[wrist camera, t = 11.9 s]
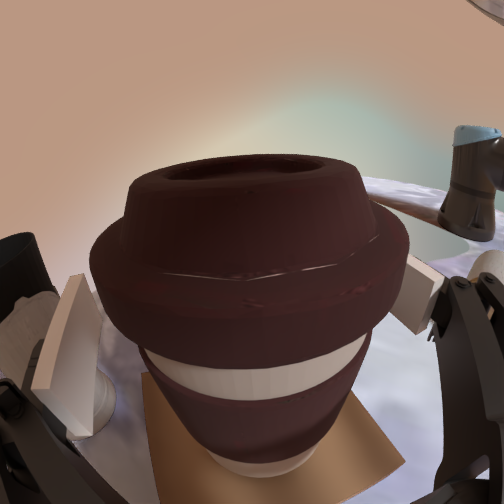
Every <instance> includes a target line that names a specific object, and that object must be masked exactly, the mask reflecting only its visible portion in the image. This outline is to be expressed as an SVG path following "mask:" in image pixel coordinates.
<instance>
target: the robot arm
mask: <svg viewBox="0 0 504 504" xmlns="http://www.w3.org/2000/svg"><path fill="white" fill-rule="evenodd" d="M467 1H468V2H469V3H470V4H471V5H473V6H474V7H475V8H476V9H478V10H479V11H481V12H482V13H483V14H485V15H486V16H488V17H489V18H491V19H493V20H494V21H496V22H498V23H500V24H501V25H503V26H504V0H467ZM501 136H502V134H501V131H500V130H499V129H494V128H488V127H481V126H469V125H461V126H458V127H456V129H455V131H454V143H453V146H454V148H453V161H452V171H451V180H450V188H449V191H448V193H447V195H446V197H445V199H444V201H443V204H442V206H441V208H440V210H439V215H438V222H439V223H440V224H441V225H442V226H443V227H444V228H446V229H447V230H449V231H451V232H453V233H455V234H457V235H460V236H462V237H465V238H468V239H472V240H477V241H490V240H492V239H493V237H494V233H495V209H494V199H495V193H496V190H500V191H503V192H504V138H503V137H501ZM491 307H492V308H493V309H494V312H493V314H492V317H491V319H490V320H489V318H488V313H489V311H490V308H491ZM389 312H390V313H392V314H393V315H394V316H395V317H396V318H397V319H398V320H399V321H401V322H402V323H403V324H404V325H405V326H406V327H407V328H408V329H410V330H411V331H412V332H413V333H414V334H415V335H417V334H419V333H420V332H422V331H423V330H425V329H426V328H427V325H428V323H429V320H430V318H431V319H433V320H434V321H435V322H434V324H433V327H432V329H431V331H430V334H429V336H428V339H427V341H430V339H431V337H432V336H433V335H434V338H433V341H432V342H435V344H436V351H437V357H438V364H439V372H440V381H441V391H442V404H443V428H444V447H443V459H442V462H441V464H440V466H439V468H438V470H437V472H436V475H435V480H434V489H433V492H432V493H430V494H428V495H426V496H424V497H422V498H420V499H418V500H416V501H414V502H412V503H410V504H504V285H503V284H502V282H501V281H500V280H499V279H498V278H497V277H496V276H494V275H493V274H492V273H489V272H481V273H480V274H479V276H478V279H477V282H475V283H472V282H471V281H469V280H468V279H466V278H464V277H460V276H454V277H451V278H450V279H448V278H447V277H445V276H444V275H442V274H441V273H439V272H438V271H436V270H435V269H433V268H432V267H430V266H428V265H427V264H426V263H424V262H422V261H421V260H419V259H418V258H416V257H414V256H412V255H410V254H409V253H408V258H407V263H406V268H405V273H404V277H403V282H402V286H401V290H400V292H399V295H398V297H397V299H396V301H395V303H394V305H393V307H392V308H391V310H390V311H389ZM102 322H103V320H102V317H101V315H100V313H99V311H98V308H97V306H96V303H95V301H94V299H93V296H92V294H91V291H90V289H89V286H88V284H87V281H86V278H85V275H84V273H83V274H78V275H74V276H70V278H69V280H68V282H67V284H66V287H65V289H64V291H63V294H62V296H61V298H60V301H59V303H58V306H57V308H56V311H55V313H54V316H53V318H52V321H51V324H50V326H49V329H48V332H47V335H46V338H44V339H40V340H39V341H38V342H37V344H36V345H35V346H34V348H33V350H32V353H31V356H30V360H29V362H28V368H27V369H26V372H25V376H24V379H23V383H22V387H21V390H20V389H19V388H18V387H17V385H16V384H15V383H14V382H13V380H12V379H9V378H3V379H1V380H0V504H129V503H128V502H127V501H126V500H125V499H124V498H123V497H122V496H121V495H119V494H118V493H117V492H116V491H115V490H114V489H113V488H112V487H111V486H110V485H109V484H108V483H107V482H106V481H105V480H104V479H103V478H102V477H101V476H100V475H99V474H98V472H97V471H96V470H95V469H94V468H93V467H92V466H91V465H90V464H89V463H88V461H87V460H86V459H85V458H84V457H83V456H82V454H81V453H80V452H79V451H78V449H77V448H76V447H75V446H74V444H73V443H72V442H71V441H70V440H69V439H68V438H67V437H66V433H67V429H68V430H69V431H70V432H71V433H73V434H74V435H75V436H93V408H94V389H95V377H96V366H97V357H98V349H99V341H100V334H101V328H102ZM7 467H8V468H7ZM488 468H489V480H488V479H475V478H476V477H477V476H478V475H479V474H481V473H482V472H484V471H485V470H487V469H488Z"/></svg>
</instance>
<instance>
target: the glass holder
mask: <svg viewBox="0 0 504 504" xmlns="http://www.w3.org/2000/svg"><path fill="white" fill-rule="evenodd" d="M59 301H60V296H59V294H58V291H57V290H56V288H55V286H53V285H52V283H51V280H50V278H49V276H48V273H47V270H46V268H45V265H44V262H43V260H42V257H41V254H40V251H39V248H38V246H37V242H36V239H35V236H34V234H33V233H31V232H24V233H18V234H14V235H11V236H8V237H6V238H3V239H1V240H0V370H1V371H2V372H3V374H4V375H5V376H6V377H7V378H9V379H12V380H13V382H14V383H15V384H16V385H17V387H18V388H19V389H20V390H21V387H22V383H23V379H24V376H25V372H26V369H27V368H28V362H29V360H30V356H31V353H32V350H33V348H34V346H35V345H36V344H37V342H38V341H39V340H40V339H44V338H46V335H47V332H48V329H49V326H50V324H51V321H52V318H53V316H54V313H55V311H56V308H57V306H58V303H59ZM115 405H116V391H115V388H114V385H113V383H112V381H111V380H110V379H109V378H108V376H107V375H105V374H104V373H103V372H101V371H100V370H99V369H98V368H97V366H96V377H95V389H94V408H93V435H94V434H96V433H97V432H99V431H100V430H101V429H102V428H103V427H104V426H105V425H106V424H107V422H108V421H109V420H110V418H111V416H112V414H113V412H114V408H115ZM66 437H67V438H68V439H69V440H73V441H74V440H82V439H85V438H88V437H90V436H75V435H74V434H73V433H71V432H70V431H69V430H68V429H67V433H66Z"/></svg>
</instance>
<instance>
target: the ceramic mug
mask: <svg viewBox="0 0 504 504" xmlns="http://www.w3.org/2000/svg"><path fill="white" fill-rule="evenodd" d="M481 272H489V273H492V274H493V275H494V276H496V277H497V278H498V279H499V280H500V281H501V282H502V284H503V285H504V252H502V251H499V250H489V251H486V252H484V253H483V254H481V255H480V256H479V257H478V258H477V259H476V261H475V262H474V264H473V267H472V269H471V270H470V272H469V275H468V277H467V279H468V280H469V281H471V282H472V283H475V282H477V279H478V276H479V274H480V273H481ZM493 312H494V309H493V308H492V307H491V308H490V311H489V313H488V318H489V320H490V319H491V317H492V314H493Z"/></svg>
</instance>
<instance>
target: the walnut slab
mask: <svg viewBox="0 0 504 504" xmlns="http://www.w3.org/2000/svg"><path fill="white" fill-rule="evenodd" d="M141 377H142V390H143V402H144V412H145V420H146V429H147V436H148V443H149V449H150V455H151V461H152V467H153V472H154V477H155V482H156V487H157V491H158V496H159V500H160V504H340V503H342V502H344V501H346V500H348V499H350V498H352V497H354V496H356V495H357V494H359V493H361V492H363V491H365V490H366V489H368V488H370V487H371V486H373V485H375V484H376V483H378V482H379V481H381V480H383V479H384V478H386V477H387V476H389V475H390V474H391V473H393V472H394V471H395V470H396V469H398V468H399V467H400V466H401V465H403V464H404V463H405V462H406V461H405V460H404V458H403V457H402V456H401V455H400V453H399V452H398V451H397V449H396V448H395V447H394V445H393V444H392V443H391V441H390V440H389V439H388V438H387V436H386V435H385V434H384V432H383V431H382V430H381V428H380V427H379V426H378V425H377V423H376V422H375V421H374V419H373V418H372V417H371V415H370V414H369V413H368V411H367V410H366V409H365V408H364V406H363V405H362V404H361V402H360V401H359V400H358V398H357V397H356V396H355V394H354V393H353V392H352V390H350V392H349V394H348V396H347V399H346V401H345V403H344V405H343V407H342V409H341V411H340V413H339V415H338V417H337V419H336V421H335V423H334V424H333V426H332V427H331V429H330V430H329V431H328V433H327V434H326V435H325V436H324V437H323V438H322V439H321V441H320V443H319V444H318V446H317V448H316V450H315V451H314V453H313V454H312V455H311V456H310V457H309V458H308V459H307V460H306V461H305V462H304V463H303V464H301V465H300V466H299V467H297V468H295V469H293V470H291V471H289V472H287V473H284V474H282V475H277V476H273V477H263V478H256V477H248V476H243V475H240V474H237V473H234V472H232V471H230V470H228V469H226V468H224V467H223V466H221V465H220V464H219V463H218V462H216V461H215V460H214V459H213V458H212V456H211V455H210V454H209V452H208V451H207V450H206V448H205V447H203V446H202V445H201V444H199V443H198V442H197V441H196V440H195V439H194V438H193V437H192V436H191V434H190V433H189V432H188V431H187V429H186V428H185V427H184V425H183V424H182V422H181V421H180V419H179V418H178V416H177V415H176V414H175V412H174V411H173V409H172V408H171V406H170V405H169V403H168V401H167V400H166V398H165V397H164V395H163V394H162V392H161V390H160V389H159V387H158V386H157V384H156V382H155V381H154V379H153V377H152V376H151V374H150V372H145V373H141Z"/></svg>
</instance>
